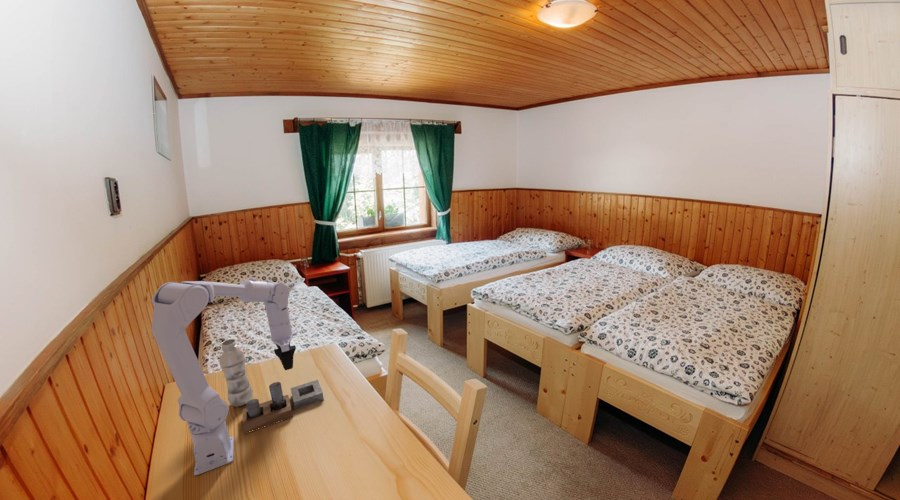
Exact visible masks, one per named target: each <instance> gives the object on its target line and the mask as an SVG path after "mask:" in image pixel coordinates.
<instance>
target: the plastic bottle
mask: <svg viewBox="0 0 900 500" xmlns="http://www.w3.org/2000/svg"><path fill="white" fill-rule="evenodd" d="M220 345H221V351H222V353H221V355H220V358H219V363H218V364H219V366H220V368H221V370H222V372H223V375H224V378H225V382H226V389H227V401H228V403H229V404H230V405H231V406H233V407H235V408H236V407H242V406H245V405H246V403H247V402H248V401H250V400H252V398H253V393H254V392H253V391H254V390H253V389H252V386H251V384H250V382H249V379H248V375H247V370H246V357H245V354H244V352H243V351H242V350H241V349H239V348H238V344H237V342H236V339H234V338H232V339H227V340H224V341H223V342H221V344H220Z"/></svg>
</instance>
